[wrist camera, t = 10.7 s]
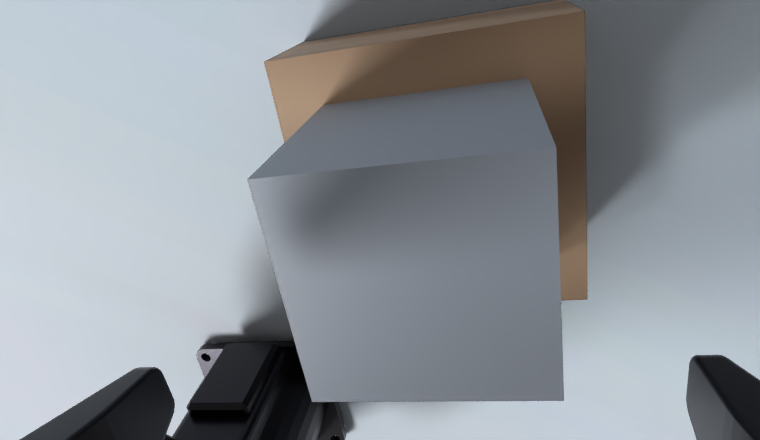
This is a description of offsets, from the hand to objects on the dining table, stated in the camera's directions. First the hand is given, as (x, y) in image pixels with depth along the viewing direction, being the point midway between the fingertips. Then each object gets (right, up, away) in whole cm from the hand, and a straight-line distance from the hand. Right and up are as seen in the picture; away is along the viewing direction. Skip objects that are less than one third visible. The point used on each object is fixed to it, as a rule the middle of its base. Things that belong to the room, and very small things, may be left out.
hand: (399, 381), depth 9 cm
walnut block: (+2, +6, +11) cm, 13 cm away
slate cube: (+1, +4, +8) cm, 9 cm away
